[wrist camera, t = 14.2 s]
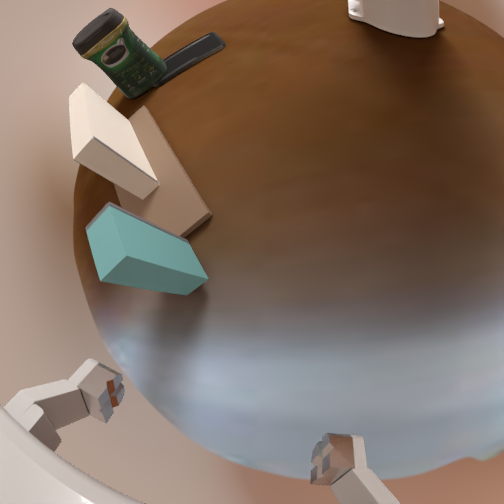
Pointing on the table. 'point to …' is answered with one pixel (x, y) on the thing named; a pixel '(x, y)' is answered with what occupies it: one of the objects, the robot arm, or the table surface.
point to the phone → (191, 55)
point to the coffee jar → (120, 53)
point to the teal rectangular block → (142, 253)
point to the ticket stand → (135, 162)
